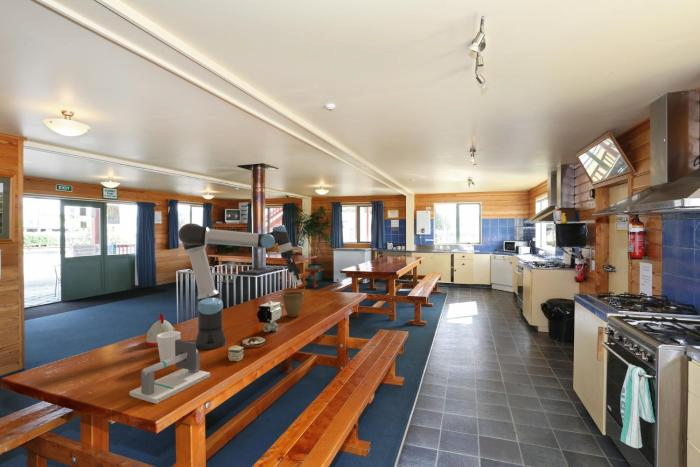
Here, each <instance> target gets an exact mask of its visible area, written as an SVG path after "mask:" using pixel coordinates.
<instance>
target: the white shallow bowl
mask: <svg viewBox="0 0 700 467" xmlns="http://www.w3.org/2000/svg"><path fill="white" fill-rule="evenodd" d="M266 343H267V340H266V339H265V338H264V337H262V336H252V337H248V338H244V339H242V340H241V347H244V348H248V349H254V348H257V349H258V348H261V347H263V346H265V344H266Z"/></svg>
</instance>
